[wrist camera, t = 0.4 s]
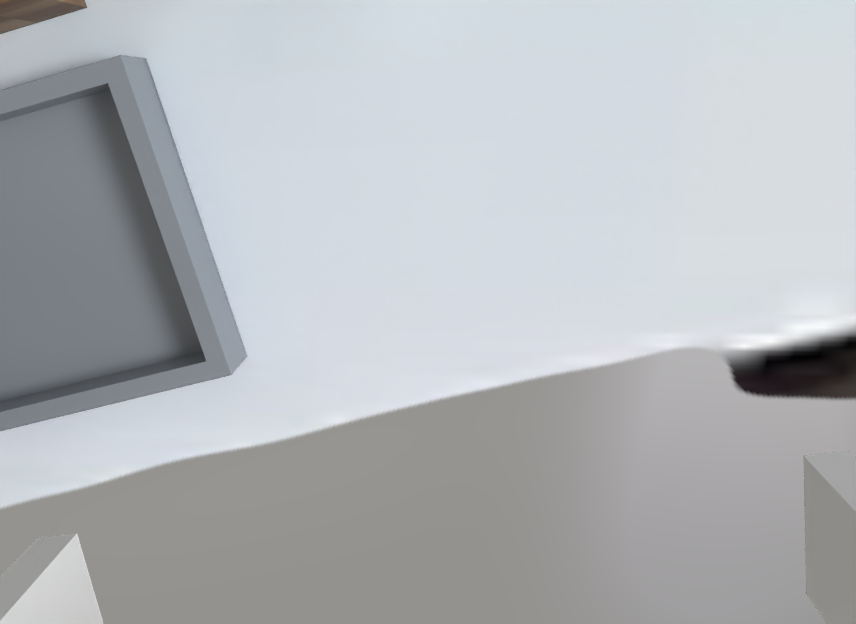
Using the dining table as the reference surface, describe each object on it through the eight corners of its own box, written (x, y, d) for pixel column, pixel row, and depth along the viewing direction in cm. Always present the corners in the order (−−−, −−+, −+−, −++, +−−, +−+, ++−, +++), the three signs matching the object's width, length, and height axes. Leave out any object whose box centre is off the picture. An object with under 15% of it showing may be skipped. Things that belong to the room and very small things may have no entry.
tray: (-140, 142, 41) (-187, 146, 38) (145, 58, 39) (120, 55, 36) (-19, 421, 45) (-52, 443, 42) (247, 356, 43) (231, 375, 40)
